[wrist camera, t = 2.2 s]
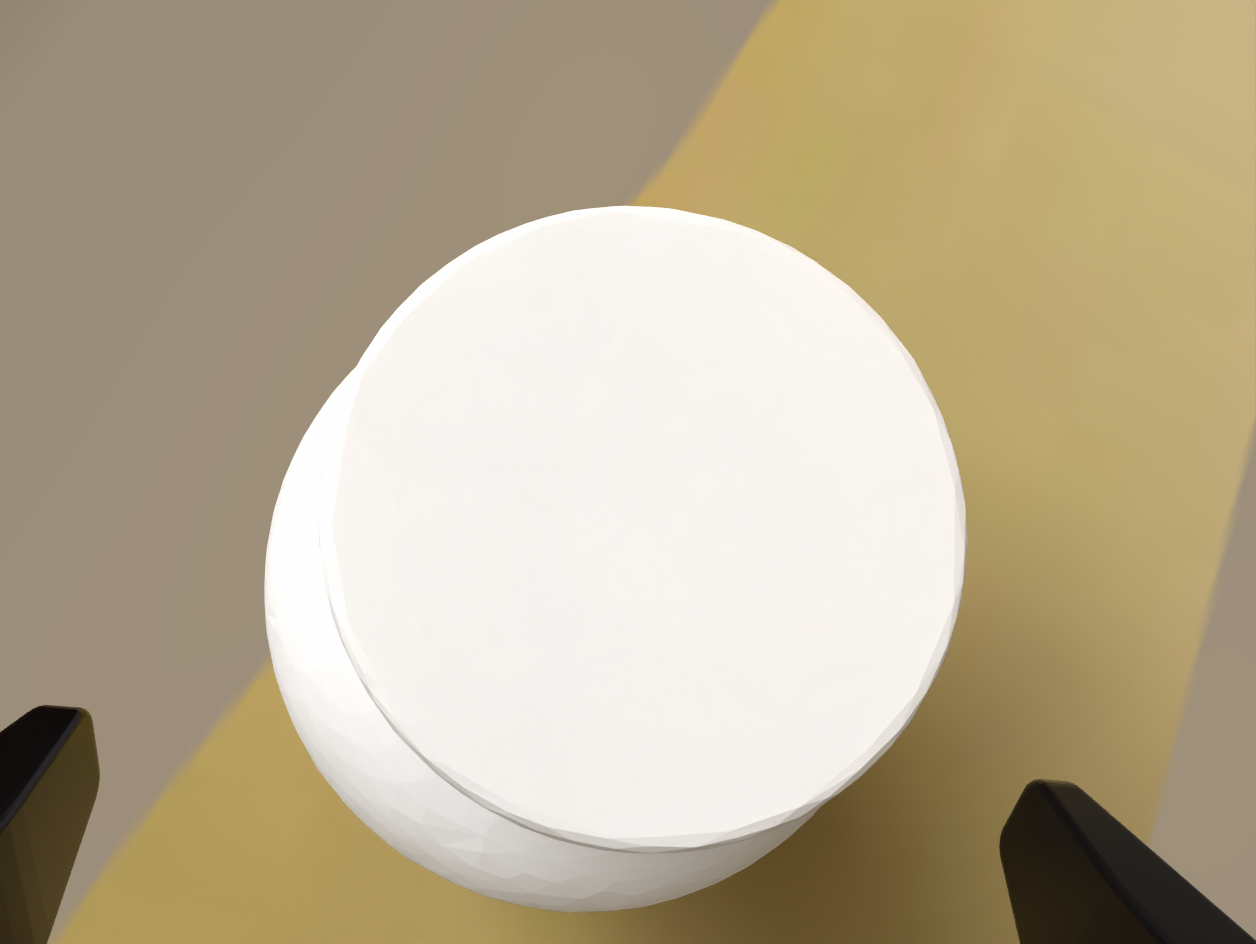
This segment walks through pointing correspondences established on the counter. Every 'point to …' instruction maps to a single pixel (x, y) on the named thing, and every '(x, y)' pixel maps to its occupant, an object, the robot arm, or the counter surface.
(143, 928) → the counter surface
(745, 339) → the supplement bottle
